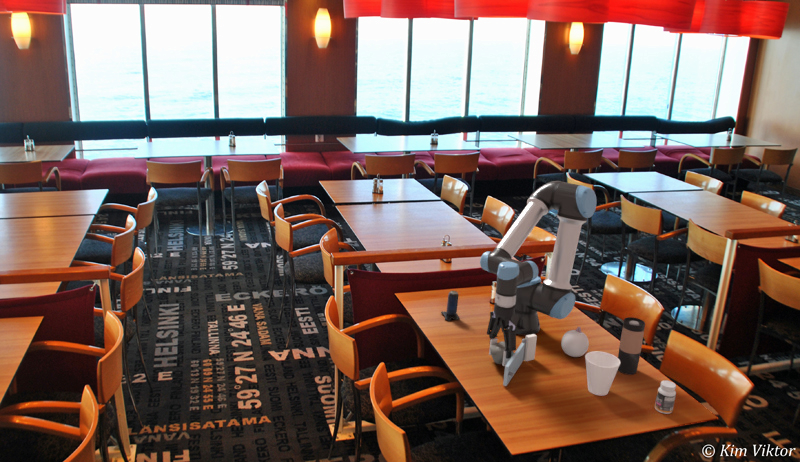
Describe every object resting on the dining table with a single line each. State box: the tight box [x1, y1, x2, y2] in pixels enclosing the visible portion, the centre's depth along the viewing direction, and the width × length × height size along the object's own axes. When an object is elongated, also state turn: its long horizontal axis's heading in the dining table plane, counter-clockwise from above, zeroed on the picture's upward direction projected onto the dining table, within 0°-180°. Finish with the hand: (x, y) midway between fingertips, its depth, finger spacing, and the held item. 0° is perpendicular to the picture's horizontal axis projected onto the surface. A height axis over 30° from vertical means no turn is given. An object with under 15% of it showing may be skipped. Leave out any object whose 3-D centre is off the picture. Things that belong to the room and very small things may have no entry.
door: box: [502, 338, 526, 387], centre depth 229 cm, size 23×3×8 cm, turn 154°
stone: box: [489, 341, 515, 365], centre depth 236 cm, size 9×9×10 cm
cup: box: [584, 350, 621, 397], centre depth 220 cm, size 12×12×12 cm
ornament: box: [560, 326, 590, 358], centre depth 245 cm, size 10×10×12 cm
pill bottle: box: [654, 379, 677, 415], centre depth 210 cm, size 6×6×10 cm
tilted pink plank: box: [524, 334, 538, 362], centre depth 240 cm, size 4×2×10 cm, turn 117°
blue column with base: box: [440, 290, 461, 322], centre depth 274 cm, size 9×8×12 cm
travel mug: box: [617, 316, 646, 375], centre depth 234 cm, size 8×8×20 cm
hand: (499, 359), depth 236 cm, fingers closed on stone, 8 cm apart
